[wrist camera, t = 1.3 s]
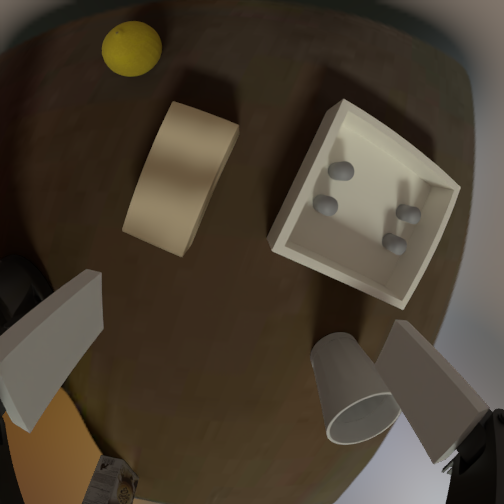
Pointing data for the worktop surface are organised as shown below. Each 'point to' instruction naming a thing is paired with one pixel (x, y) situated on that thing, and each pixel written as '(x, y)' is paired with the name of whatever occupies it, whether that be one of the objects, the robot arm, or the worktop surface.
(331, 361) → the cup
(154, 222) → the beige rectangular block
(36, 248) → the worktop surface
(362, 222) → the white open box
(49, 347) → the robot arm
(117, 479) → the coffee box
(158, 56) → the lemon
